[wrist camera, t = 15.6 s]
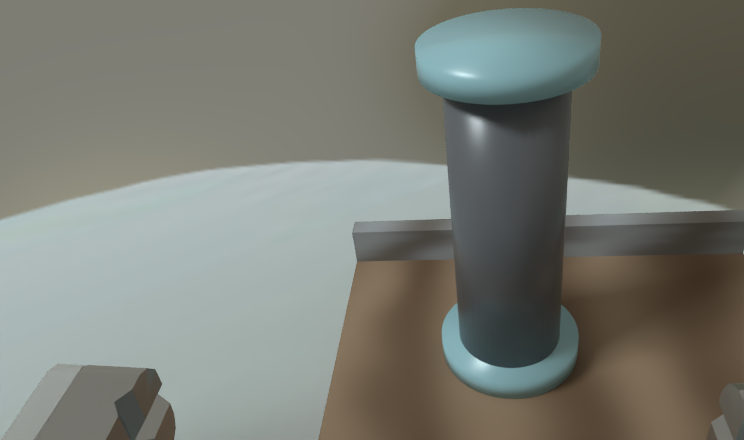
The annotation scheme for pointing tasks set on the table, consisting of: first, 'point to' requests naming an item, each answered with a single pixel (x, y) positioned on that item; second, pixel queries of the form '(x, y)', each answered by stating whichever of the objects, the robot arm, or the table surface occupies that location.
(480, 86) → the cord spool
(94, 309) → the table surface
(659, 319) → the shelf block
